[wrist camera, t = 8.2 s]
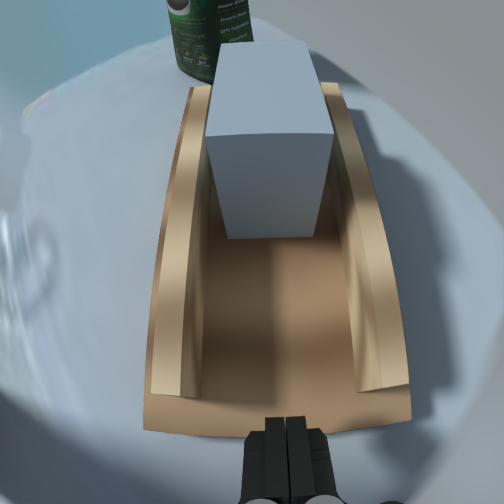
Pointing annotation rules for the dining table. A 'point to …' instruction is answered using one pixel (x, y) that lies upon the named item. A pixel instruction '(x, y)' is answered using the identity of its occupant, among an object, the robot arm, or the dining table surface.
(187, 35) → the coffee jar
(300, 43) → the block
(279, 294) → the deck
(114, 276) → the dining table surface
